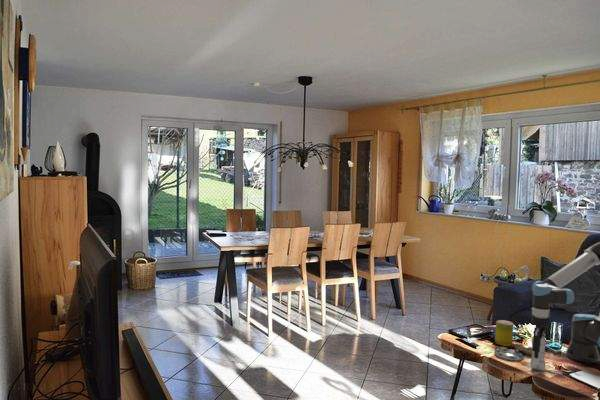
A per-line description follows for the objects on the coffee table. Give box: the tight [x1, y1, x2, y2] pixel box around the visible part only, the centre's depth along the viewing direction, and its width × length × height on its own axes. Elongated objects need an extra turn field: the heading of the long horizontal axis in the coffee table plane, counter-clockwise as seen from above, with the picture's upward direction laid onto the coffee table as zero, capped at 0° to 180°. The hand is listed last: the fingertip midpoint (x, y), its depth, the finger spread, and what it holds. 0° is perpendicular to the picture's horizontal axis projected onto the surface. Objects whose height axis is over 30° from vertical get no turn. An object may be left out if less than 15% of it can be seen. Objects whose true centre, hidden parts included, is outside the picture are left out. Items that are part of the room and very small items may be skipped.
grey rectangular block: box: [514, 343, 532, 357], centre depth 252 cm, size 10×4×4 cm, turn 50°
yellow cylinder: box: [494, 319, 514, 347], centre depth 268 cm, size 9×9×12 cm
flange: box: [493, 347, 524, 362], centre depth 249 cm, size 14×14×2 cm
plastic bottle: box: [530, 332, 547, 372], centre depth 231 cm, size 6×7×20 cm
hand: (537, 362), depth 232 cm, fingers closed on plastic bottle, 6 cm apart
